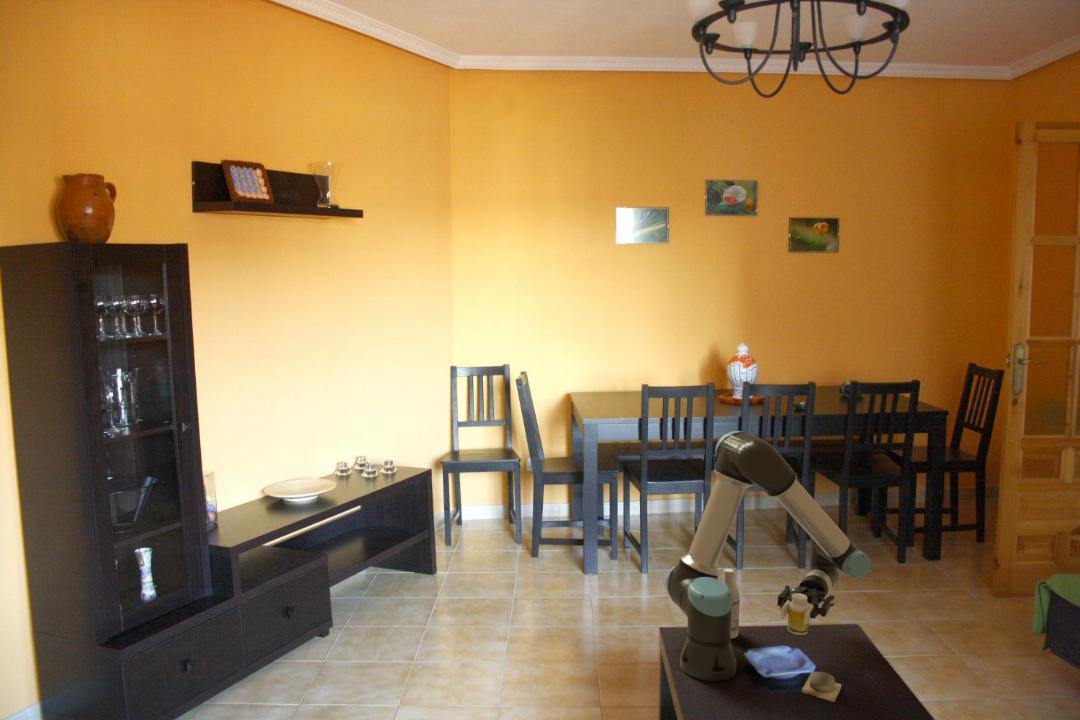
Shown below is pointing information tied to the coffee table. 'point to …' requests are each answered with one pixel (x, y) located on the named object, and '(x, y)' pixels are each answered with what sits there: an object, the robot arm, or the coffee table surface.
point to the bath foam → (736, 601)
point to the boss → (822, 686)
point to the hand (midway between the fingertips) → (793, 616)
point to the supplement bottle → (797, 614)
